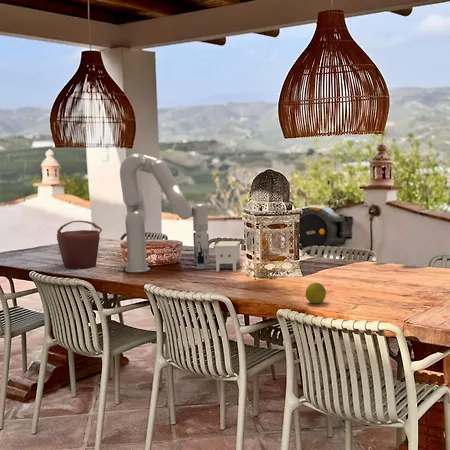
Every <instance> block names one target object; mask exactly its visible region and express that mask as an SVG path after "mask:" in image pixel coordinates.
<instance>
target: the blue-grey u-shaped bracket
mask: <svg viewBox="0 0 450 450" xmlns="http://www.w3.org/2000/svg"><path fill="white" fill-rule="evenodd" d="M197 250H198V248H197ZM197 250H196V256H197V252H198V251H197ZM200 250H202V249H200ZM201 252H202V251H201ZM203 256H204V264H198V260H197V263H196V267H197V268H196V269H197V270H206V269H208V270H209V269H210V270H211V269H216V263H206V253H205V250H204V249H203ZM241 265H242V264H241V262H240V263H236V269H238V268H241ZM219 266H220V269H233V264H219Z"/></svg>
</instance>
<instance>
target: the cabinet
mask: <svg viewBox="0 0 450 450" xmlns="http://www.w3.org/2000/svg"><path fill="white" fill-rule="evenodd" d="M240 244H241V240H240V241H238V240H235V241H234V240H232V241H231V240H229V241H228V240H226V241H225V240H219V241H218V242H217V243H216V244H215V245H214V249H215V264H216V268H215V272H220V271H221V270H220V269H221V268H220V266H219V264H233V268H232V272H237V268H236V263H240V264H241V253H240V252H241V251H240Z"/></svg>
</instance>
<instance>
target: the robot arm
mask: <svg viewBox="0 0 450 450" xmlns="http://www.w3.org/2000/svg"><path fill="white" fill-rule="evenodd" d="M138 171H140V172H144V173H148V174H151V175H152V176H153V178H154V179H155V180H156V183H157V184H158V186H160V188H161V190H162V192H163V193H164V195H165V197H166V199H168V201H169V203H170V205H171V206H172V208H173V210H174V211H175V213H176V215H177V216H178V217H179V218H180V219H182V220H188V219H190V218H192V224H193V225H192V226H193V232H194V233H195V246H196V250H197V248H198V250H197V251H198V252H197V260H198V264H204V256H203V249H204V250H206V249H207V248H208V240H207V234H208V231H209V218H208V217H209V215H208V213H209V212H208V205H207V203H195V204H194V203H188V201H187V199H186V197H185V196H184V194H183V193H182V191H181V187H180V185H179V183H178V182H177V180H176V177H175V176H174V175H173V173H172V172H171V170H170V168H169V167H168V164H167V162H166V161H165V160H163V159H161V158H156V157H152V156H149V155H145V154H143V153H137V152H136V153H135V152H134V153H132V154H130V155H128V156H127V157H126V158H125V159H124V160H123V161H122V163H121V165H120V168H119V178H120V185H121V192H122V200H123V203H124V204H125V206H126V215H125V219H124V220H125V232H126V251H127V261H126V262H120V263H119V266H120V267H121V268H122V267H123V268H124V267H125V269H124V271H125V272H127V273H145V272H148V271H150V269H151V268H150V267H149V266H148V265H147V244H146V243H147V241H146V240H147V239H146V226H145V225H146V224H145V222H146V220H147V213H146V208H145V207H146V206H145V201H144V196H143V192H142V191H141V190H140V189H139V188H140V187H139V182H138V181H139V180H138V175H137V172H138ZM200 249H202V250H200ZM201 251H202V252H201Z"/></svg>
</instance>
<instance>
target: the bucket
mask: <svg viewBox="0 0 450 450" xmlns="http://www.w3.org/2000/svg"><path fill="white" fill-rule="evenodd" d="M72 223H84V224H87V225H91V226H93V228H95V229H98V230H93V229H92V230H90V229H87V230H86V229H84V230H83V229H79V230H70V231H68V230H67V231H62V230H63V229H64V228H65V227H67V226H68V225H70V224H72ZM61 231H62V232H61ZM102 231H103V229H102V227H100V226H99V225H98V224H97V223H96V222H93V221H90V220H89V221H88V220H72V221H70V222H67V223H65V224H63V225H61V226H60V227H59V228H58V230H57V231H56V232H57V233H56V240H57V245H58V248H59V252H60V255H61V260H62V264H63V266H64V267H63V268H64V269H67V270H86V269H91V268H96V267H97V260H98V251H99V246H100V245H99V244H100V236H101V233H102Z"/></svg>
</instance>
